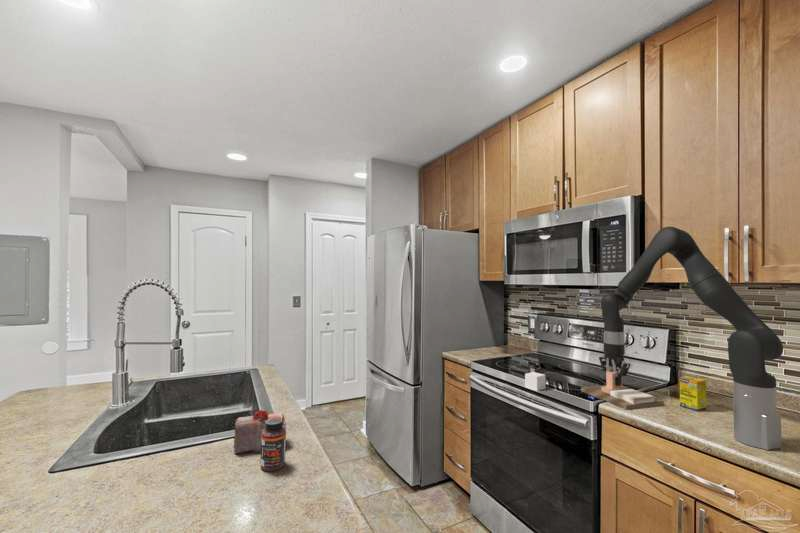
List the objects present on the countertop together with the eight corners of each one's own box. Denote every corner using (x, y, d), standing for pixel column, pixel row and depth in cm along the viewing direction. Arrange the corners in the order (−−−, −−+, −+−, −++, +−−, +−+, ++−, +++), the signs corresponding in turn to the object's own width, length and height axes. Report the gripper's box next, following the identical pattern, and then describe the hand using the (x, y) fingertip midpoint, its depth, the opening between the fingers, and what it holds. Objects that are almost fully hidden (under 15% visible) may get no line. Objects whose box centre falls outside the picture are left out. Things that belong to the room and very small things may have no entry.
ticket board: (663, 405, 139) (663, 395, 139) (626, 409, 134) (626, 399, 134) (615, 387, 160) (614, 379, 160) (581, 391, 155) (581, 382, 155)
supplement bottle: (261, 474, 89) (261, 427, 89) (259, 462, 94) (260, 418, 94) (286, 469, 91) (287, 423, 91) (284, 458, 97) (284, 415, 97)
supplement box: (679, 406, 138) (679, 377, 138) (688, 404, 140) (688, 375, 141) (697, 411, 132) (697, 381, 133) (706, 409, 135) (706, 379, 135)
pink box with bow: (283, 437, 110) (284, 403, 110) (286, 448, 102) (287, 413, 102) (233, 445, 104) (234, 410, 104) (233, 458, 97) (233, 420, 97)
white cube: (537, 391, 155) (537, 376, 155) (525, 387, 160) (525, 373, 160) (545, 388, 159) (545, 374, 159) (533, 385, 164) (533, 371, 164)
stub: (629, 392, 149) (629, 373, 149) (609, 394, 146) (609, 374, 146) (620, 389, 153) (620, 370, 153) (601, 391, 150) (601, 372, 150)
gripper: (636, 344, 145) (636, 388, 144) (607, 338, 158) (607, 379, 158) (621, 345, 143) (621, 390, 142) (593, 339, 156) (593, 380, 156)
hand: (614, 384), depth 150 cm, fingers closed on stub, 3 cm apart
